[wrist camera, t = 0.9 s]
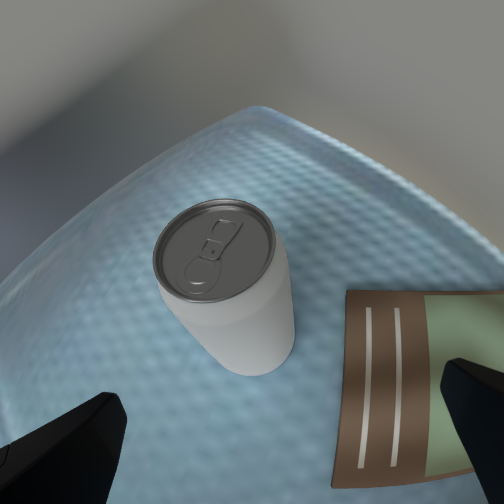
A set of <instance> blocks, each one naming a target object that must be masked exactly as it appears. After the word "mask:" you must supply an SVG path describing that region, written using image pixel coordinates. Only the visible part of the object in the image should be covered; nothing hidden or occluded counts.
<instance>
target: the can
mask: <svg viewBox="0 0 504 504" xmlns="http://www.w3.org/2000/svg"><path fill="white" fill-rule="evenodd" d="M153 268H154V272H155V275H156V277H157V279H158V284H159V289H160V293H161V295H162V298H163V300H164V301H165V303H166V305H167V306H168V308H169V309H170V310H171V311H172V313H173V314H174V315H175V316H176V317H177V319H178V320H179V321H180V322H181V323H182V324H183V325H184V326H185V328H186V329H187V330H188V331H189V332H190V333H191V334H192V335H193V336H194V337H195V338H196V339H197V340H198V341H199V343H200V344H201V345H202V346H203V347H204V348H205V349H206V350H207V351H208V352H209V353H210V354H211V355H212V356H213V357H214V358H215V359H216V360H217V361H218V362H219V363H220V364H221V365H222V366H223V367H225V368H226V369H228V370H229V371H231V372H234V373H236V374H240V375H245V376H258V375H263V374H266V373H269V372H271V371H273V370H274V369H276V368H277V367H279V366H280V365H281V364H282V363H283V362H284V361H285V360H286V359H287V357H288V356H289V354H290V352H291V350H292V347H293V344H294V339H295V327H294V314H293V302H292V292H291V282H290V272H289V264H288V258H287V253H286V249H285V246H284V244H283V241H282V240H281V238H280V236H279V235H278V233H277V232H276V231H275V230H274V228H273V225H272V223H271V221H270V220H269V218H268V217H267V216H266V214H265V213H264V212H263V211H261V210H260V209H259V208H257V207H256V206H254V205H252V204H250V203H247V202H245V201H241V200H236V199H214V200H209V201H205V202H202V203H199V204H196V205H194V206H192V207H190V208H188V209H186V210H184V211H183V212H181V213H180V214H179V215H177V216H176V217H175V218H174V219H172V220H171V221H170V222H169V223H168V225H167V226H166V227H165V228H164V230H163V231H162V232H161V234H160V236H159V238H158V240H157V242H156V245H155V248H154V252H153Z"/></svg>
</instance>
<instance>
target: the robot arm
mask: <svg viewBox="0 0 504 504" xmlns="http://www.w3.org/2000/svg"><path fill="white" fill-rule="evenodd" d="M440 391H441V394H442V396H443V399H444V401H445V404H446V406H447V409H448V412H449V414H450V417H451V419H452V422H453V425H454V427H455V430H456V432H457V434H458V436H459V439H460V441H461V443H462V445H463V447H464V449H465V451H466V453H467V455H468V457H469V459H470V461H471V464H472V466H473V468H474V470H475V472H476V475H477V477H478V479H479V481H480V484H481V486H482V488H483V491H484V493H485V496H486V498H487V500H488V503H489V504H504V373H503V372H500V371H497V370H494V369H491V368H489V367H486V366H483V365H480V364H477V363H474V362H471V361H468V360H466V359H463V358H460V357H458V358H454V359H451V360H448V361H447V362H446V364H445V367H444V371H443V374H442V378H441V382H440ZM126 425H127V415H126V412H125V410H124V408H123V406H122V403H121V401H120V398H119V396H118V395H117V394H116V393H111V392H102V393H100V394H98V395H97V396H95V397H93V398H91V399H90V400H88V401H86V402H85V403H83V404H81V405H79V406H78V407H76V408H74V409H72V410H71V411H69V412H67V413H65V414H63V415H62V416H60V417H58V418H56V419H55V420H53V421H51V422H49V423H47V424H45V425H44V426H42V427H40V428H38V429H36V430H34V431H33V432H31V433H29V434H27V435H25V436H23V437H21V438H19V439H18V440H16V441H14V442H12V443H11V444H8V445H6V446H4V447H2V448H0V504H106V502H107V499H108V495H109V492H110V489H111V486H112V482H113V479H114V476H115V473H116V470H117V466H118V463H119V458H120V453H121V448H122V443H123V439H124V434H125V429H126Z"/></svg>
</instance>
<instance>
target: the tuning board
mask: <svg viewBox="0 0 504 504" xmlns="http://www.w3.org/2000/svg"><path fill="white" fill-rule="evenodd" d="M458 357H460V358H463V359H466V360H468V361H471V362H474V363H477V364H480V365H483V366H486V367H489V368H491V369H494V370H497V371H500V372H503V373H504V291H375V290H347V291H346V295H345V346H344V367H343V383H342V397H341V409H340V419H339V429H338V438H337V446H336V454H335V461H334V469H333V475H332V482H331V487H332V488H373V487H386V486H397V485H406V484H414V483H421V482H427V481H433V480H439V479H444V478H449V477H454V476H458V475H462V474H467V473H471V472H474V471H475V470H474V468H473V466H472V464H471V461H470V459H469V457H468V455H467V453H466V451H465V449H464V447H463V445H462V443H461V441H460V439H459V436H458V434H457V432H456V430H455V427H454V425H453V422H452V419H451V417H450V414H449V412H448V409H447V406H446V404H445V401H444V399H443V396H442V394H441V391H440V382H441V378H442V374H443V371H444V367H445V364H446V362H447V361H448V360H451V359H454V358H458Z"/></svg>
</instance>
